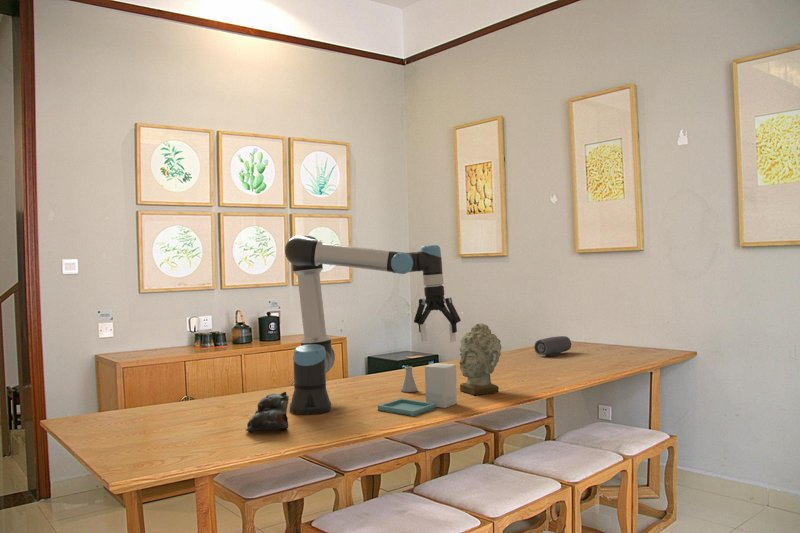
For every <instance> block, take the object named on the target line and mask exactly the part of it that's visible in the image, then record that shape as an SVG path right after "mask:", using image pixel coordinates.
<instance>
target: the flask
mask: <svg viewBox="0 0 800 533" xmlns="http://www.w3.org/2000/svg"><path fill="white" fill-rule="evenodd" d="M404 369H405V376H404V379H403V382H402V385H401V388H400V392H403V393H416V392H418V387H417V385H416V382H415V379H414V376H413V366H405V367H404Z"/></svg>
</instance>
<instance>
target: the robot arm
mask: <svg viewBox="0 0 800 533" xmlns="http://www.w3.org/2000/svg"><path fill="white" fill-rule="evenodd" d="M284 255H285V257H286V260H288V262H289V263H291V266H292V273H293V274H295V276H297V283H298V293H299V294H298V295H299V303H300V311H301V312H300V313H301V320H302V330H303V331H302V332H303V338H302V340H300V345H299V346H297V347H296V348H294V349H293V355H292V360H293V388H294V389H293V393H292V397H291V402H290V403H289V412H290V413H292V414H296V415H317V414H324V413H327V412H330V411H331V410H332V402H331V400H330V397H329V394H328V391H327V373H328V372H329V371H330V370H331V368H333V366H334V363H335V360H336V354H335V351H334V349H333V347H332V340H331V337H330V336H328V335H327V330H326V329H327V328H326V321H325V312H324V304H323V303H324V302H323V292H322V285H321V275H320V273H321V272H322V271H323V270H324V268H323V267H324V266H323V265H330V266H337V267H338V266H339V267H344V268H345V267H346V268H353V269H354V268H355V269H361V270H362V269H363V270H364V269H365V270H371V271H372V270H373V271H381V272H387V273H392V274H400V275H405V274H407V273H413V272H414V273H415V272H422V278H423V279H422V280H423V286H425V287H424V288H423V289H424V290H423V291H424V297H425V298H419V299H418V306H417V310H416V313H415V316H414V320H413V323H415V324H418V332H419V333H420V339H421V340H420V341H421V342H427V341H428V337H427V336H428V335H427V333H428V332H427V325H426V324H427V323H426V322H425V321H426V320H427V318H428V317H429V315H430V313H431V312H432V311H439V312H441V314H442V315H444V317H445V318H446V320H448V322H449V324H448V326H449V327H448V329H449V330H448V331H449V339H450V343H453V342H456V341H457V335H456V333H457V332H458V330H457V329H458V328H457V326H458V325H457V324H458V323H460V322H461V318H460V316H459V313H458V312H457V310H456V307H455V306H454V303H453V299H452V297H446V298H445V287H444V285H443V284H444V276H443V274H444V273H443V263H442V262H443V261H442V253H441V247H440V246H439V245H437V244H433V245H423V246H421V247H420V251H416V252H415V251H414V252H413V251H411V252H401V251H390V250H383V249H373V248H367V247H359V246H358V247H356V246H348V245H340V244H332V243H323V241H321V240H320V239H317V238H316V237H314V236H310V235H301V234H299V235H294V236H292V237H290V238H289V239H288V241H287V242H286V244H285V246H284Z"/></svg>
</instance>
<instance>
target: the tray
mask: <svg viewBox="0 0 800 533" xmlns="http://www.w3.org/2000/svg"><path fill="white" fill-rule="evenodd" d="M436 409H437V407H436V404H434V403H428V402H426V401H420V400H415V399H414V400H413V399H407V398H399V399H395V400H392V401H388V402H385V403H381V404H378V405H377V411H380V412H384V411H385V412H386V413H390V414H391V413H392V414H396V415H402V416H407V417H408V416H409V417H415V416H418V415H421V414H424V413H427V412H429V411H433V410H436Z"/></svg>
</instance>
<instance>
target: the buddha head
mask: <svg viewBox="0 0 800 533" xmlns="http://www.w3.org/2000/svg"><path fill="white" fill-rule="evenodd" d="M501 350H502V344H501V340H500V338H498V337H497V335H496V334H494V333H492V330H491V329H490V327H489V326H488V325H487V324H484V323H477V324H475V325H473V327H471V328H470V331H469V332H466V333H465V334H464V336H462V337H461V339H460V347H459V351H460V353H459V356H460V358H459V369H460V371H461V375H462V376H463V377H464V378H467V380H466V381H465V382H462V383H460V385H459V391H460V392H462V393H464V394H465V393H466V394H469V395H471V396H475V397H478V395H479V396H483V395H489V394H491V395H492V394H497V393H500V391H499V390H500V386H499V385H497V384H494V383H492V380H491V374H493V372H494V371H495V367H497V365H498V363H499V361H500V357H501V355H502V354H501Z"/></svg>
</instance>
